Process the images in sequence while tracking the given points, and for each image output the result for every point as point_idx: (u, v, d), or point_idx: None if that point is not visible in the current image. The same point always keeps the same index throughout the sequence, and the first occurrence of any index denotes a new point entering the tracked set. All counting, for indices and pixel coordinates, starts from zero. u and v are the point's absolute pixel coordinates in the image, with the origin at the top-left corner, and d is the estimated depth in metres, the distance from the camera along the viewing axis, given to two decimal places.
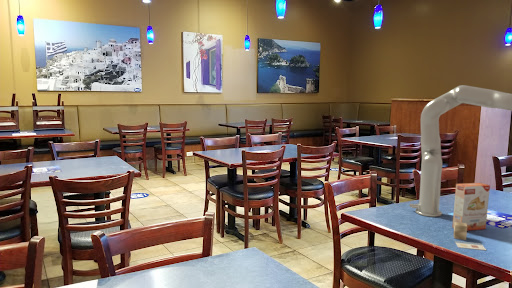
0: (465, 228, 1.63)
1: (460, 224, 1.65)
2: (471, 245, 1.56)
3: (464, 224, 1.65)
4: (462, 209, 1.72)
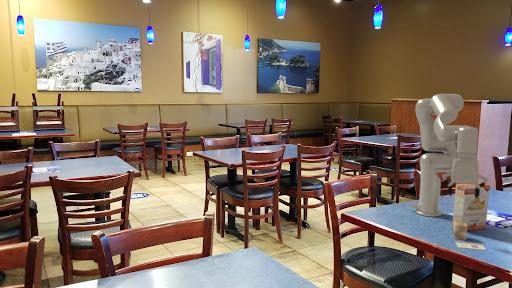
0: (465, 228, 1.63)
1: (460, 224, 1.65)
2: (471, 245, 1.56)
3: (464, 224, 1.65)
4: (462, 209, 1.72)
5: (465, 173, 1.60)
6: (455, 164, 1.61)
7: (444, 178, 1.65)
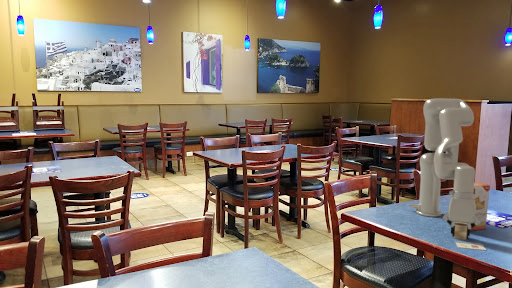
0: (465, 228, 1.62)
1: (460, 224, 1.65)
2: (471, 245, 1.56)
3: (464, 224, 1.65)
4: None
5: (461, 212, 1.62)
6: (452, 202, 1.63)
7: (446, 219, 1.67)
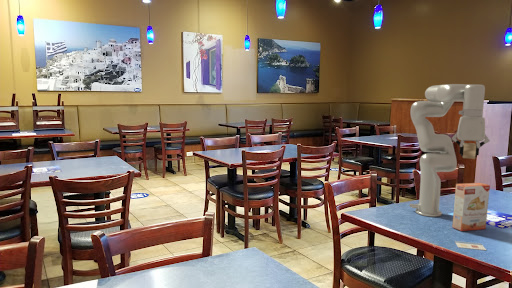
0: (474, 147, 1.62)
1: (469, 144, 1.64)
2: (471, 245, 1.56)
3: None
4: (462, 209, 1.72)
5: (471, 130, 1.62)
6: (461, 121, 1.63)
7: (455, 140, 1.67)
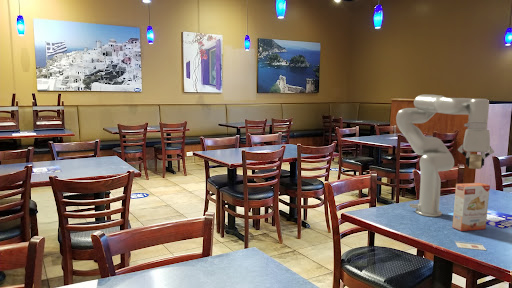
0: (480, 157, 1.71)
1: (475, 154, 1.73)
2: (471, 245, 1.56)
3: (478, 154, 1.73)
4: (462, 209, 1.72)
5: (476, 142, 1.70)
6: (467, 133, 1.72)
7: (461, 151, 1.75)
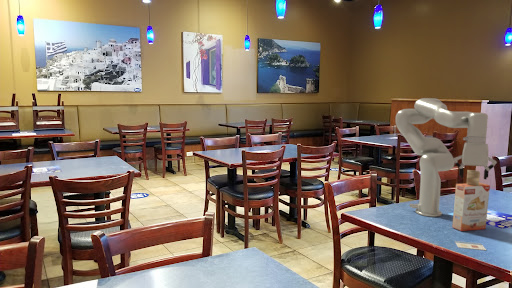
0: (478, 174, 1.72)
1: (473, 171, 1.74)
2: (471, 245, 1.56)
3: (477, 171, 1.74)
4: (462, 209, 1.72)
5: (475, 156, 1.71)
6: (466, 147, 1.72)
7: (456, 161, 1.76)
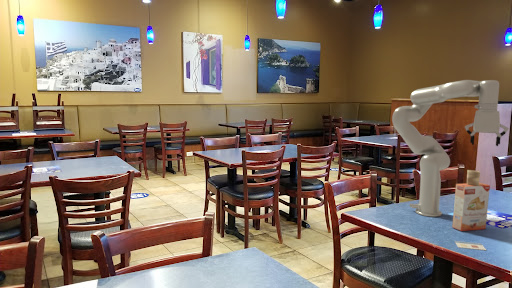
0: (478, 174, 1.72)
1: (473, 171, 1.74)
2: (471, 245, 1.56)
3: (477, 171, 1.74)
4: (462, 209, 1.72)
5: (486, 123, 1.73)
6: (477, 115, 1.75)
7: (467, 129, 1.79)
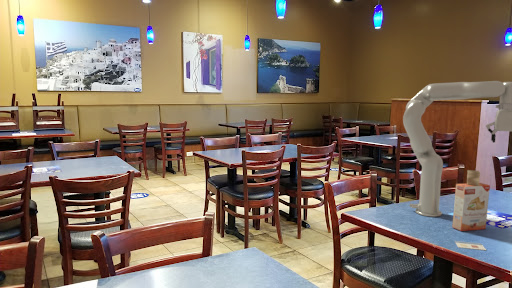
0: (478, 174, 1.72)
1: (473, 171, 1.74)
2: (471, 245, 1.56)
3: (477, 171, 1.74)
4: (462, 209, 1.72)
5: (507, 122, 1.84)
6: (499, 114, 1.86)
7: (488, 127, 1.90)
